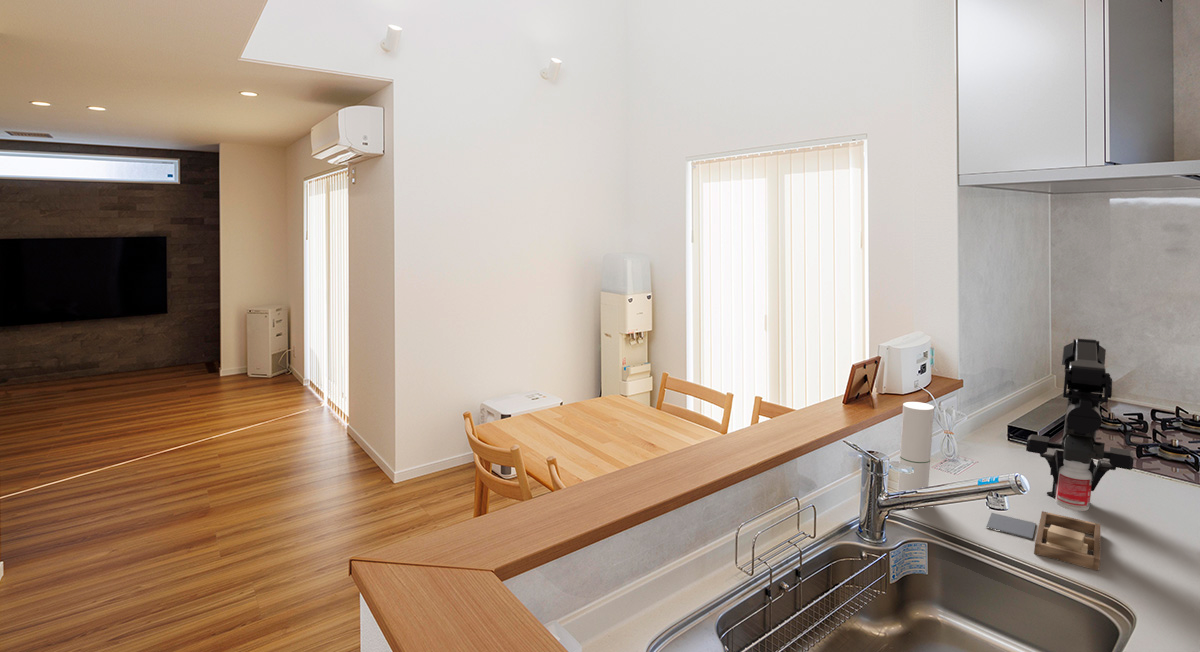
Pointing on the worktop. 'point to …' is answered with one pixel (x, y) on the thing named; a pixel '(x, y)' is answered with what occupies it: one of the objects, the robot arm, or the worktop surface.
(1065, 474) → the pill bottle
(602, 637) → the worktop surface
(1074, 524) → the rack
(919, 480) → the cylindrical container
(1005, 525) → the mat
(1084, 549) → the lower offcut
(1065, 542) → the upper offcut
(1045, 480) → the worktop surface
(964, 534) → the worktop surface
